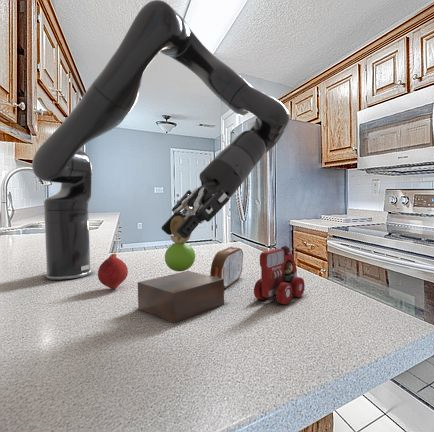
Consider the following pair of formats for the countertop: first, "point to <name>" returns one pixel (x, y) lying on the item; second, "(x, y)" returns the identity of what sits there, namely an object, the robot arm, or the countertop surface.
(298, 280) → the toy fire truck
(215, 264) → the tin
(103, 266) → the onion
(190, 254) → the green tan rounded piece
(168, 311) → the walnut block
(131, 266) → the countertop surface
